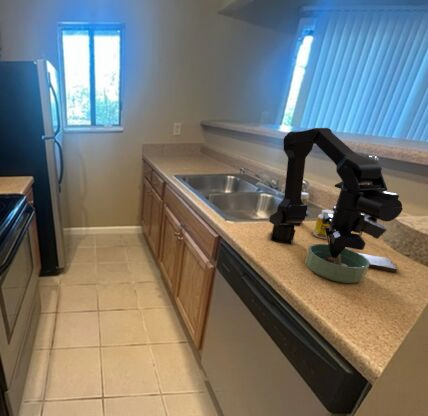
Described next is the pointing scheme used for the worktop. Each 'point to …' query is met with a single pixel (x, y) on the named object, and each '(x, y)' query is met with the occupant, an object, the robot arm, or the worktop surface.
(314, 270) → the bowl
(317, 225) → the supplement bottle
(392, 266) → the dark grey slate tile
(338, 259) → the wooden pestle
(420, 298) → the worktop surface
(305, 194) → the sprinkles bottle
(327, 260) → the bead
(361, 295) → the worktop surface
